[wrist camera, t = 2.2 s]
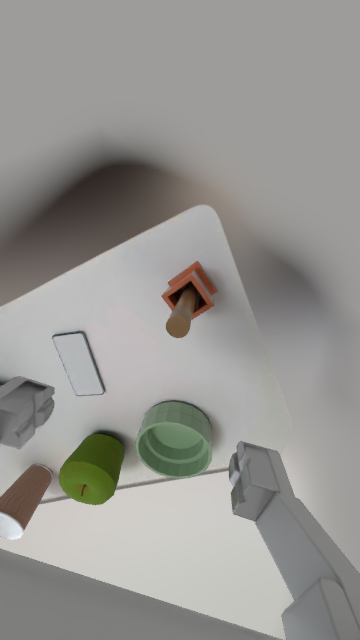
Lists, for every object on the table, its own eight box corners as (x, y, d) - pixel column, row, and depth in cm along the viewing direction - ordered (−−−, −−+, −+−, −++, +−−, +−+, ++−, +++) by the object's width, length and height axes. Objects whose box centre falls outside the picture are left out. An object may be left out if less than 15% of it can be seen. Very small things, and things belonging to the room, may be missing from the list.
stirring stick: (200, 288, 34) (194, 330, 17) (190, 295, 34) (175, 342, 17) (193, 278, 33) (180, 311, 16) (183, 285, 34) (161, 323, 17)
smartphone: (81, 331, 39) (104, 394, 44) (83, 330, 40) (105, 392, 44) (50, 335, 40) (76, 396, 45) (52, 334, 41) (77, 394, 46)
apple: (112, 418, 47) (84, 468, 36) (140, 454, 50) (122, 509, 39) (73, 433, 50) (38, 482, 40) (102, 466, 53) (76, 520, 43)
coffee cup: (30, 482, 60) (-10, 536, 49) (20, 457, 56) (-27, 509, 45) (62, 486, 59) (28, 542, 47) (53, 461, 55) (14, 515, 44)
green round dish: (224, 437, 45) (226, 464, 39) (170, 459, 49) (165, 486, 43) (184, 388, 41) (181, 410, 36) (131, 416, 46) (120, 440, 40)
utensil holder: (217, 291, 34) (220, 306, 25) (188, 310, 36) (182, 331, 27) (197, 261, 33) (193, 266, 24) (168, 282, 34) (154, 294, 25)
